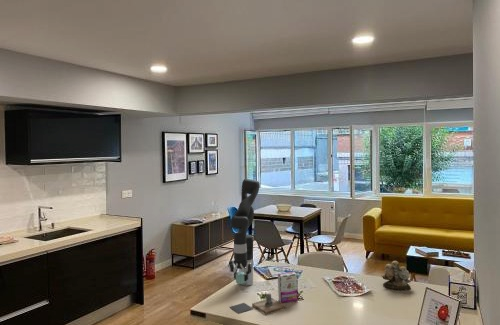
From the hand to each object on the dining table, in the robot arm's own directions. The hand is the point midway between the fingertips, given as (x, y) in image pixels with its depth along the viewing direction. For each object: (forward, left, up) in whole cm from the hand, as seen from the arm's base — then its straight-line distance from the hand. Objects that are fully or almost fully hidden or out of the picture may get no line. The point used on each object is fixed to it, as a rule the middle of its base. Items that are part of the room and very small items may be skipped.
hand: (240, 279), depth 216 cm
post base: (+8, +14, -17) cm, 23 cm away
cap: (0, 0, -1) cm, 1 cm away
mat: (0, 0, -17) cm, 17 cm away
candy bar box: (+7, +29, -17) cm, 34 cm away
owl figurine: (+31, +100, -17) cm, 106 cm away
